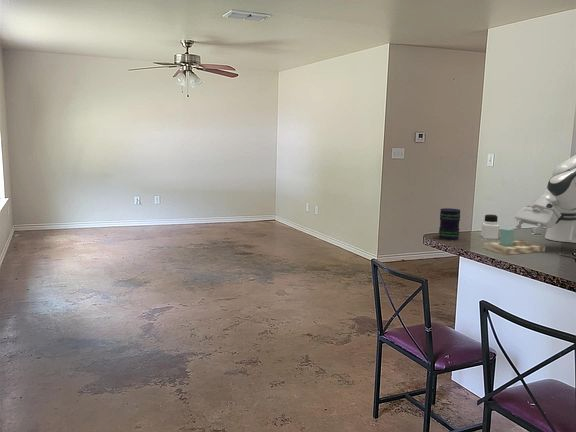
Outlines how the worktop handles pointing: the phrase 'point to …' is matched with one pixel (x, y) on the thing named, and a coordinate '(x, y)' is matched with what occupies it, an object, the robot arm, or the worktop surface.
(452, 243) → the worktop surface
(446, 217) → the storage jar
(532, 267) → the worktop surface
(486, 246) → the keyhole board
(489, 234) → the medicine bottle
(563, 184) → the robot arm
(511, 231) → the post
